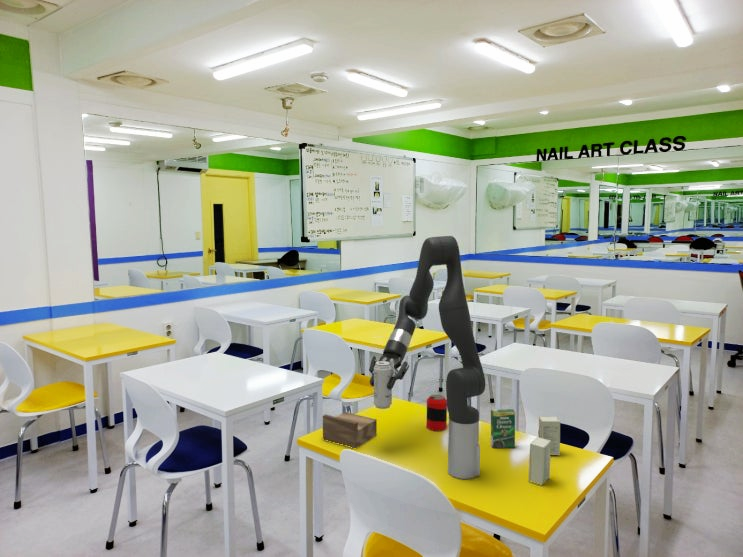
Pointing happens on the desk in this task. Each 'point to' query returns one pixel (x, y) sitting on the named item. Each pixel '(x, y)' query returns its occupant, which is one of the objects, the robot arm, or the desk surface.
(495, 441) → the coffee box
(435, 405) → the soda can
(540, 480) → the skincare box
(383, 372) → the energy drink can
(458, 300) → the robot arm
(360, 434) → the walnut shelf block
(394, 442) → the desk surface
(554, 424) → the skincare box
